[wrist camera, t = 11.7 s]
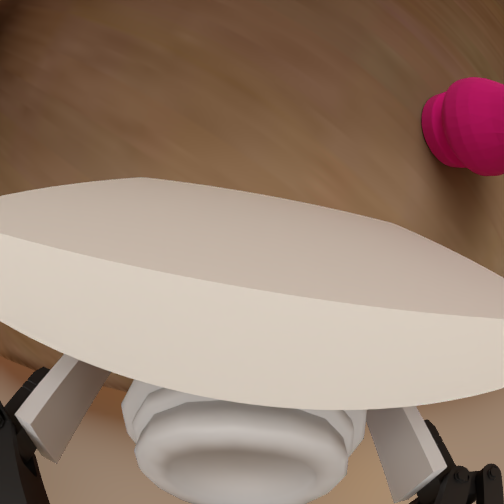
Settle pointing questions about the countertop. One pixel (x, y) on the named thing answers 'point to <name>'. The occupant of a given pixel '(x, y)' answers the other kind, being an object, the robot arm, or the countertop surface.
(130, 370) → the board
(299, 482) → the coffee cup
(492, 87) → the pepper mill
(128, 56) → the countertop surface
